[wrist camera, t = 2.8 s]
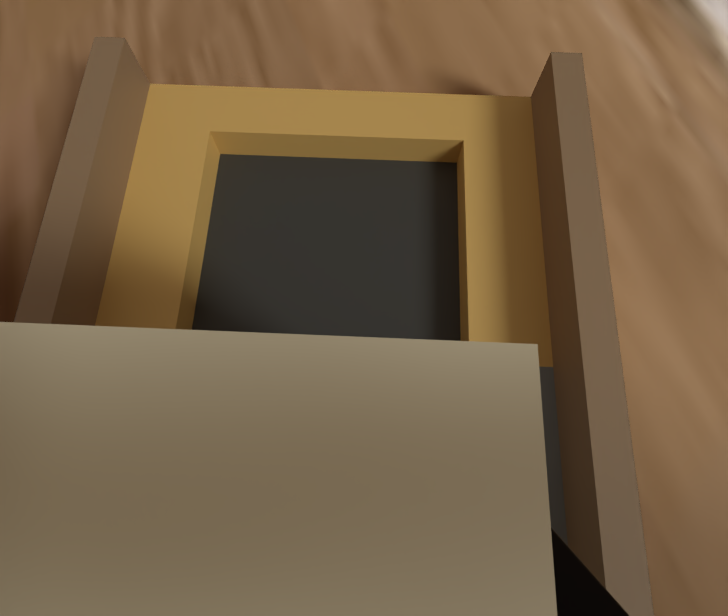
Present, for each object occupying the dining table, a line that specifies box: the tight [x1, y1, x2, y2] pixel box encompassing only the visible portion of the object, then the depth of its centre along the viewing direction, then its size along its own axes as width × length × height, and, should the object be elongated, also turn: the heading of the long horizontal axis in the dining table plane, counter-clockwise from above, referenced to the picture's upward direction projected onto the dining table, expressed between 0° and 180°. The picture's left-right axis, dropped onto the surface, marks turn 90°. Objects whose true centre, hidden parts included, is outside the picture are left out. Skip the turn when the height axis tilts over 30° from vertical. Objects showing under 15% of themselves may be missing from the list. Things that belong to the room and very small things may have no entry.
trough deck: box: [14, 37, 654, 616], centre depth 13 cm, size 27×16×4 cm, turn 178°
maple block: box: [0, 322, 557, 616], centre depth 8 cm, size 6×6×10 cm
